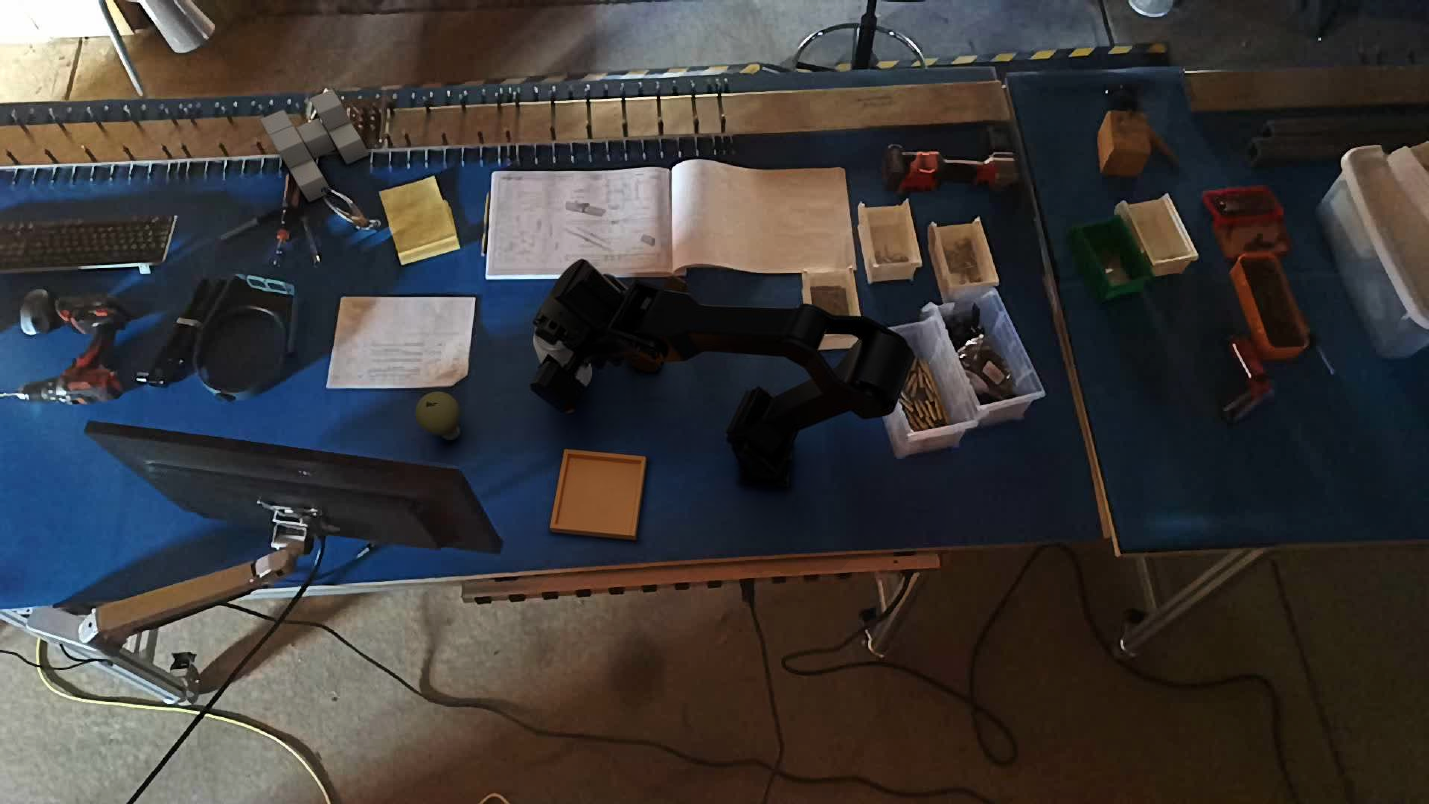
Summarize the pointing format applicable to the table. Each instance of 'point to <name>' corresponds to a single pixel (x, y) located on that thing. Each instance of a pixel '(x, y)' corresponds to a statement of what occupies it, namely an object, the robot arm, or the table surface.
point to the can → (557, 354)
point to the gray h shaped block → (314, 141)
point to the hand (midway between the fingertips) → (553, 348)
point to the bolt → (645, 364)
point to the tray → (599, 494)
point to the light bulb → (439, 414)
